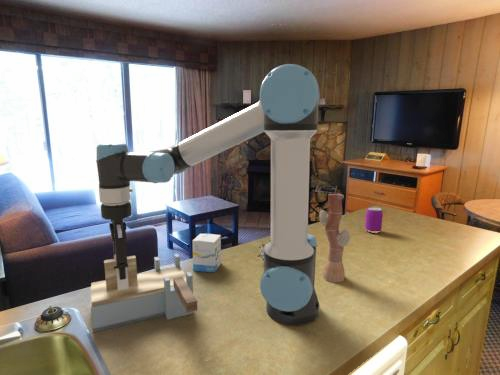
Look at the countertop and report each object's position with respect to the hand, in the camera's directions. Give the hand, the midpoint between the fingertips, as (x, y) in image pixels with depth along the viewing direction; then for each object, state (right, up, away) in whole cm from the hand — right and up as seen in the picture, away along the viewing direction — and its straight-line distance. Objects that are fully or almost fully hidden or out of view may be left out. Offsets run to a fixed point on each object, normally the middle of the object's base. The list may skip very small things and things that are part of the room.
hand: (121, 281), depth 91 cm
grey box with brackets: (+4, -9, +4) cm, 11 cm away
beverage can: (+97, +4, +73) cm, 122 cm away
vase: (+64, -5, +25) cm, 69 cm away
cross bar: (+19, -2, -6) cm, 20 cm away
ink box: (+20, -4, +32) cm, 38 cm away
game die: (+43, -3, +36) cm, 56 cm away
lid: (+4, -2, +3) cm, 6 cm away
